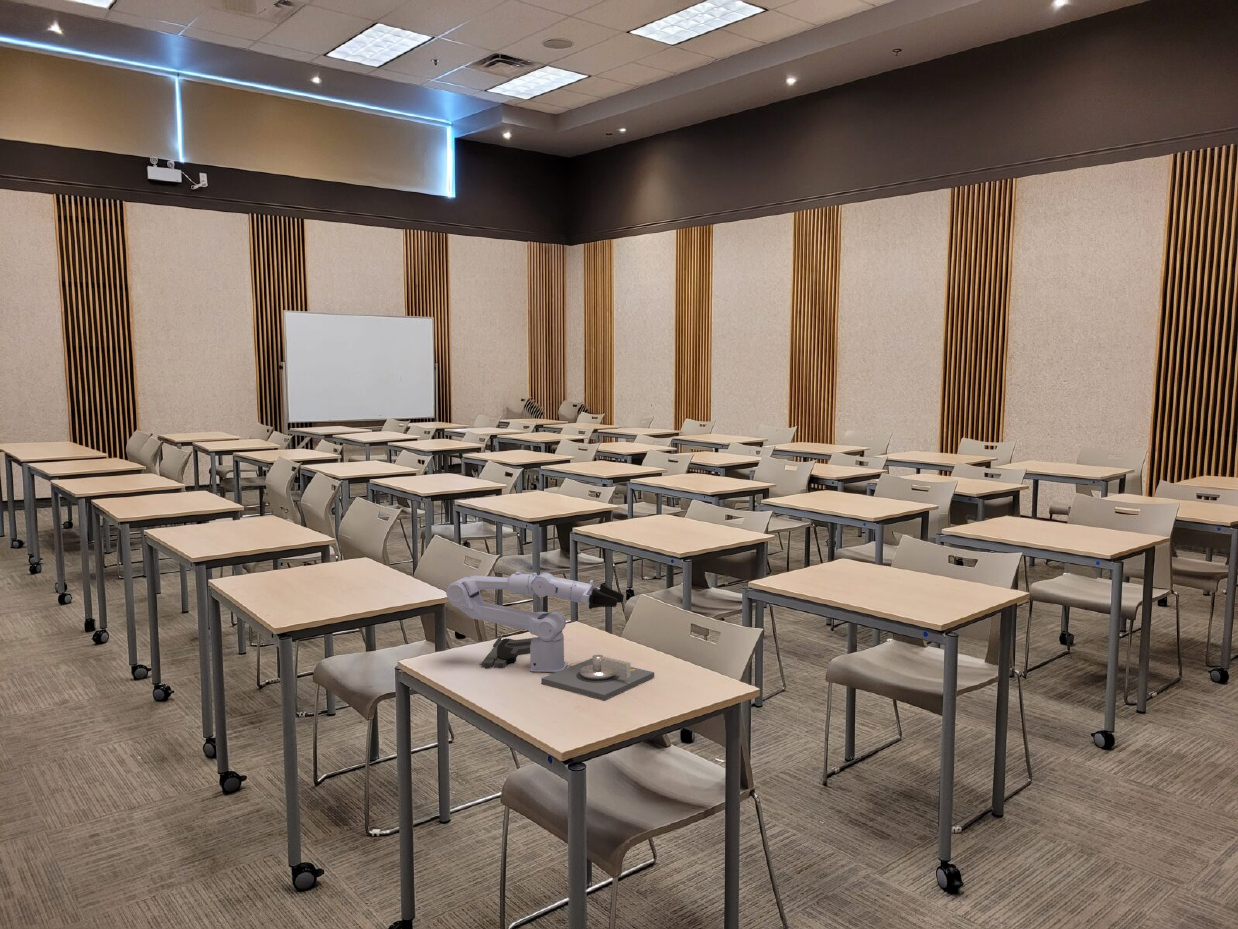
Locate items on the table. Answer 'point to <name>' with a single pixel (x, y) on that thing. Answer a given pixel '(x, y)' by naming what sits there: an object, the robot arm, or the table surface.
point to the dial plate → (595, 681)
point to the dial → (605, 668)
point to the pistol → (506, 652)
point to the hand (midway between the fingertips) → (620, 600)
